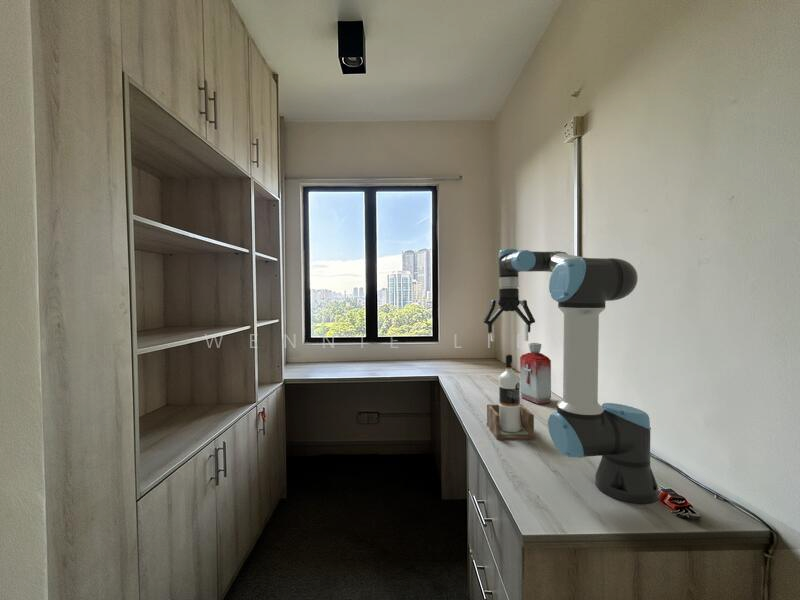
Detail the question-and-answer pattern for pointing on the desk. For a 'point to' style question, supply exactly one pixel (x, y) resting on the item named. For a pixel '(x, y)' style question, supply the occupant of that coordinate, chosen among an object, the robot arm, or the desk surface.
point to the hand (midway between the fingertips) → (509, 341)
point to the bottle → (535, 376)
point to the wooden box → (524, 433)
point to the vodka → (509, 399)
